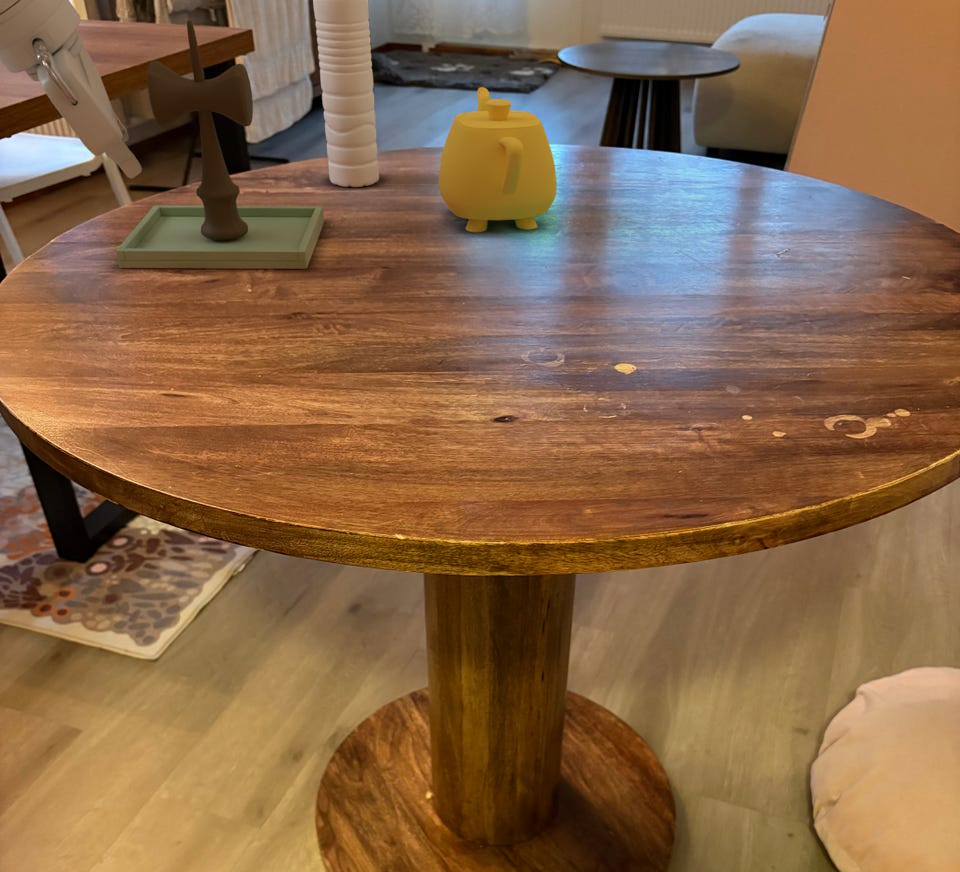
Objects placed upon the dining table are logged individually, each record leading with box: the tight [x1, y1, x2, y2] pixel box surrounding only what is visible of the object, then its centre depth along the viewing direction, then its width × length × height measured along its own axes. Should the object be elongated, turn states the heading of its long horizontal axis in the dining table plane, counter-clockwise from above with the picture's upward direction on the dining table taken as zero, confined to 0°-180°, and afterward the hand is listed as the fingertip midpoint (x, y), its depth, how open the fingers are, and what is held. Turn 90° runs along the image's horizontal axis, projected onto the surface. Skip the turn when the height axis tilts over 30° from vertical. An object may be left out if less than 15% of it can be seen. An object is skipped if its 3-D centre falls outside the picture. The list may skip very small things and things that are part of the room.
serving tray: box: [115, 204, 325, 270], centre depth 101 cm, size 20×16×2 cm
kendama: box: [146, 19, 254, 240], centre depth 94 cm, size 6×10×20 cm, turn 93°
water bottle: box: [312, 0, 380, 188], centre depth 112 cm, size 9×6×25 cm
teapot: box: [438, 86, 558, 233], centre depth 105 cm, size 13×20×12 cm
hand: (129, 156), depth 99 cm, fingers open, 8 cm apart
